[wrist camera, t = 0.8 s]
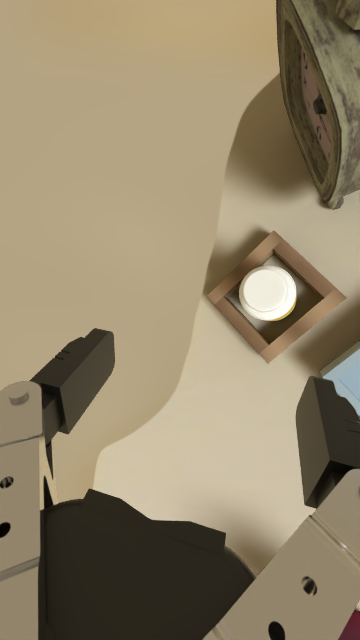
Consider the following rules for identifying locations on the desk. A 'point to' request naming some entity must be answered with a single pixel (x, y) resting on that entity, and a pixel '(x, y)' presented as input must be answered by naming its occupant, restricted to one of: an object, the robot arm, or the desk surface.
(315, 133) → the tabletop clock
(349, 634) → the cup
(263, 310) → the supplement bottle
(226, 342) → the desk surface
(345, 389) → the tray
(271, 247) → the holder
